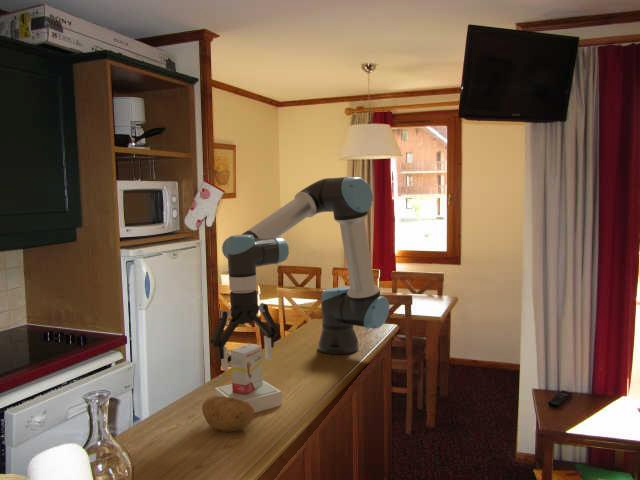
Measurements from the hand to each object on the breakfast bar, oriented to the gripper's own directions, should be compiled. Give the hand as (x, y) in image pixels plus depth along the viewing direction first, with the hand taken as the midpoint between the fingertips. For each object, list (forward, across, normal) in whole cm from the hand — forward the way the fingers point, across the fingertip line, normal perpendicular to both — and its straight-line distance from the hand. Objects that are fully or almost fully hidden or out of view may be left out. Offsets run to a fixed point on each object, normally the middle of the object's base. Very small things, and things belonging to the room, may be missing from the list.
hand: (247, 364), depth 149 cm
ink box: (+7, 0, 0) cm, 7 cm away
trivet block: (+11, 0, 0) cm, 11 cm away
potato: (+11, +11, +12) cm, 20 cm away
